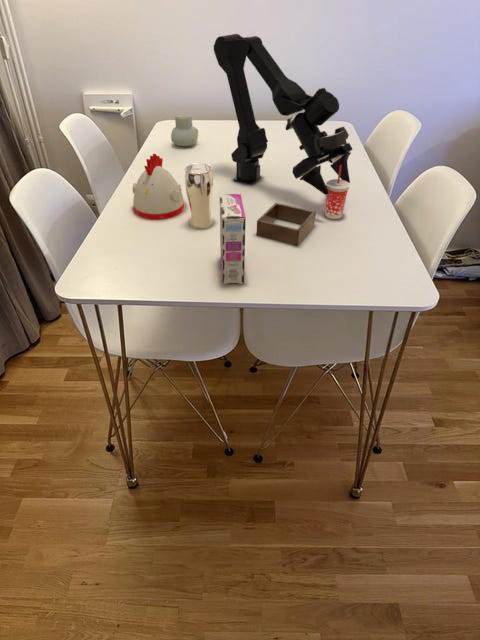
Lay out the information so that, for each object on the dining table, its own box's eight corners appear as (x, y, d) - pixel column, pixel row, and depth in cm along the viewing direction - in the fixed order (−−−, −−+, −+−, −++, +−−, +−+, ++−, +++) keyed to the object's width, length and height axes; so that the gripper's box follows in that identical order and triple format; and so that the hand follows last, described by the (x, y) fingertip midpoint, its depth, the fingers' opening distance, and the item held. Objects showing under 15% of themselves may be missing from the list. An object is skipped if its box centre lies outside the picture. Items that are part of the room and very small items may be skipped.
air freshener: (177, 138, 172) (175, 110, 166) (199, 139, 171) (198, 111, 165) (170, 148, 164) (167, 119, 157) (193, 150, 163) (191, 120, 156)
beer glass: (218, 219, 124) (216, 164, 114) (208, 231, 119) (206, 175, 109) (194, 215, 126) (191, 161, 116) (184, 227, 121) (179, 171, 111)
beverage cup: (345, 221, 123) (354, 170, 114) (322, 220, 124) (329, 169, 115) (343, 210, 128) (351, 160, 119) (321, 209, 128) (327, 160, 119)
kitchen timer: (125, 214, 126) (115, 160, 116) (149, 194, 136) (142, 142, 126) (170, 223, 122) (164, 168, 113) (192, 201, 132) (188, 149, 122)
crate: (256, 235, 117) (256, 220, 115) (274, 216, 125) (275, 202, 122) (297, 246, 113) (299, 231, 111) (314, 226, 121) (316, 211, 118)
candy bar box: (245, 284, 101) (246, 217, 91) (222, 285, 101) (221, 218, 90) (241, 257, 110) (241, 192, 99) (220, 258, 109) (218, 193, 99)
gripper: (305, 126, 108) (337, 185, 109) (352, 109, 118) (380, 164, 119) (278, 150, 117) (308, 205, 118) (324, 133, 127) (350, 183, 128)
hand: (338, 188), depth 121 cm, fingers open, 9 cm apart
